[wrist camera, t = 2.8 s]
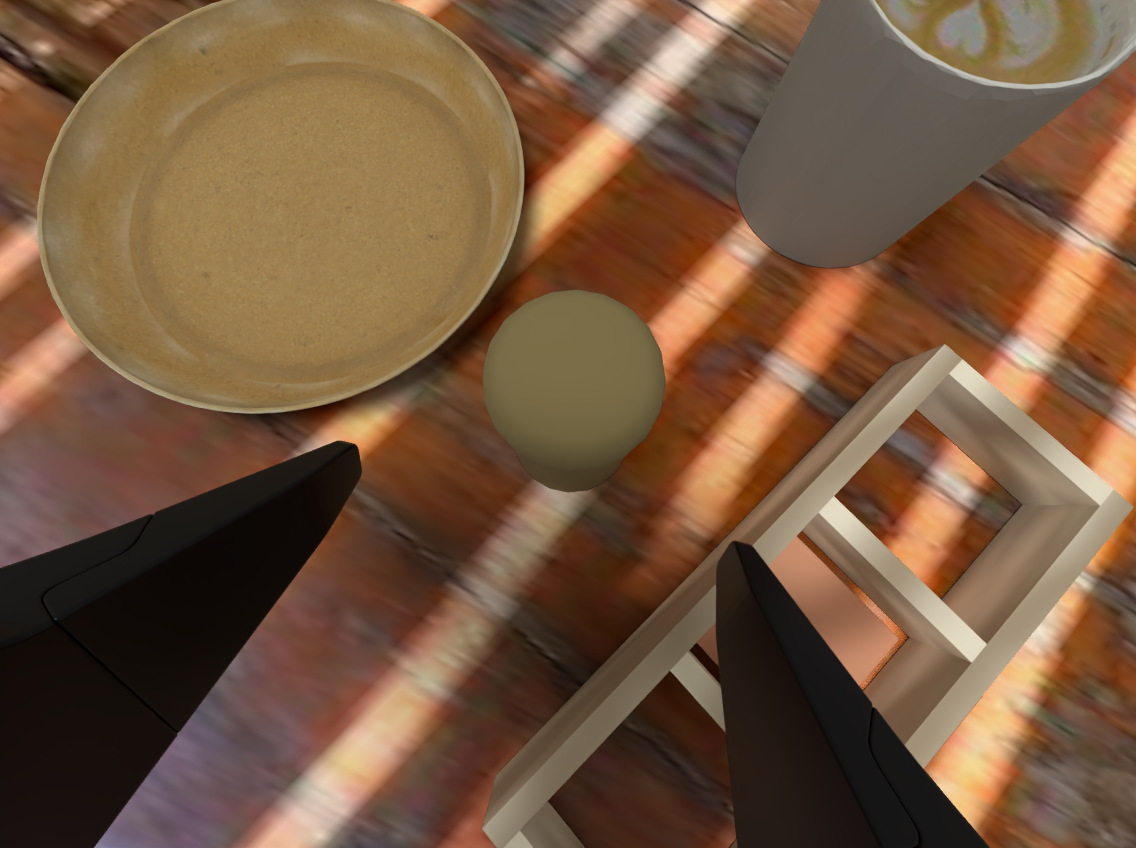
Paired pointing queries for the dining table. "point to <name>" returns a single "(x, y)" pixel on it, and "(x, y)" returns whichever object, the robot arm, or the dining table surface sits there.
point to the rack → (854, 633)
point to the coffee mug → (912, 112)
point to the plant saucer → (280, 202)
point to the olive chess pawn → (573, 386)
